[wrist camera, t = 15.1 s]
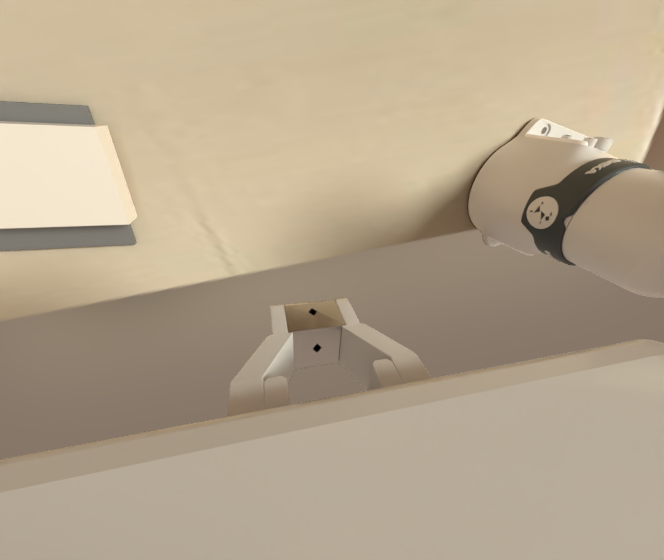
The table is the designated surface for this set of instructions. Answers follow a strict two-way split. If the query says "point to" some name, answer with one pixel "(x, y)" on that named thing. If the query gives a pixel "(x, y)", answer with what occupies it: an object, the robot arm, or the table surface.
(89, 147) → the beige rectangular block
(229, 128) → the table surface
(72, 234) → the charcoal mat
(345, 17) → the table surface
